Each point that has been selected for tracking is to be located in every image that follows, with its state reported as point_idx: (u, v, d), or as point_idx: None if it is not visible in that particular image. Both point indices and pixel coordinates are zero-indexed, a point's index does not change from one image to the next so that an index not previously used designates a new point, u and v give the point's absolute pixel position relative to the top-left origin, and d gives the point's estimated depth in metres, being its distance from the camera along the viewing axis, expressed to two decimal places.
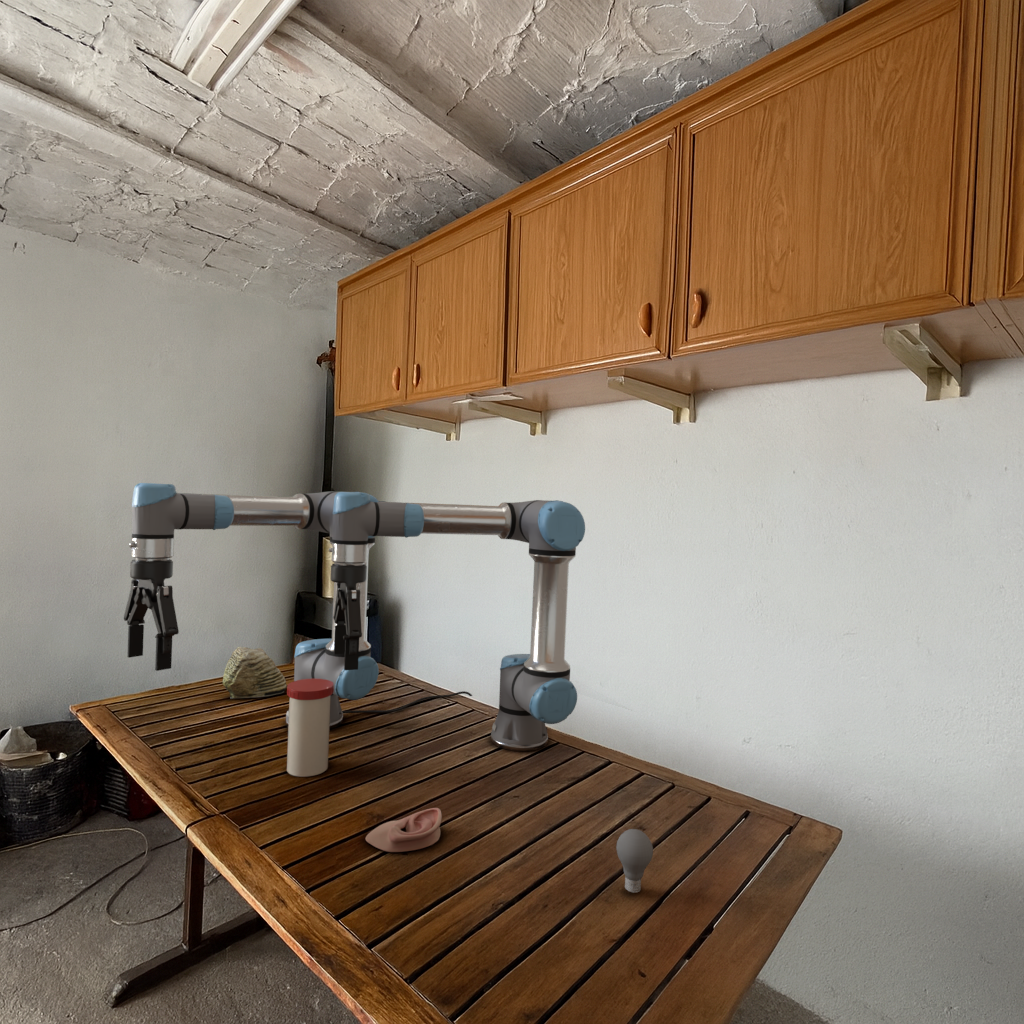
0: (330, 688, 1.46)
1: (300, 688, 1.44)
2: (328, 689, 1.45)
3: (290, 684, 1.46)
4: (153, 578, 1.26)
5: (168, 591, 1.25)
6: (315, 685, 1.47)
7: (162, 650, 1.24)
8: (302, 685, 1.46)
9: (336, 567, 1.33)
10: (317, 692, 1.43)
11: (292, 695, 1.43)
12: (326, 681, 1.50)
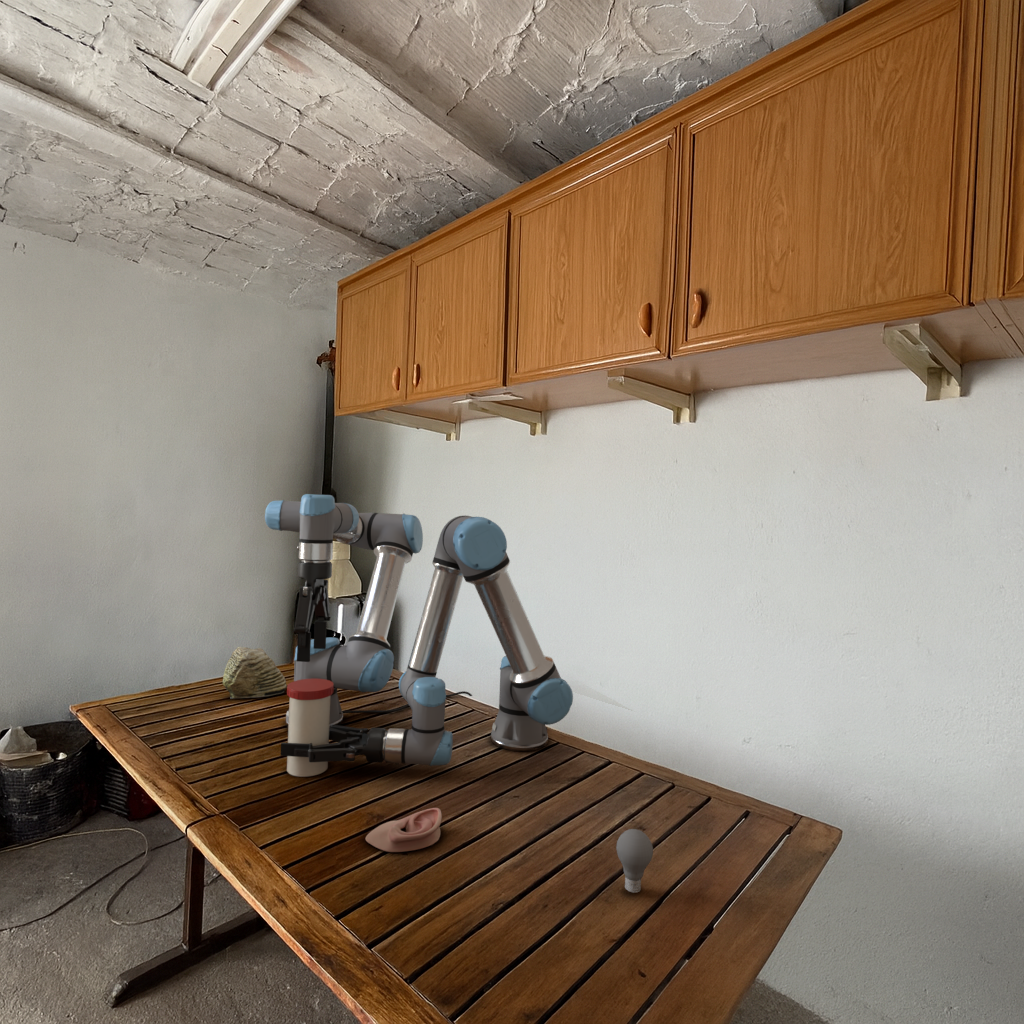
0: (330, 688, 1.46)
1: (300, 688, 1.44)
2: (328, 689, 1.45)
3: (290, 684, 1.46)
4: (305, 577, 1.43)
5: (307, 592, 1.40)
6: (315, 685, 1.47)
7: None
8: (302, 685, 1.46)
9: None
10: (317, 692, 1.43)
11: (292, 695, 1.43)
12: (326, 681, 1.50)
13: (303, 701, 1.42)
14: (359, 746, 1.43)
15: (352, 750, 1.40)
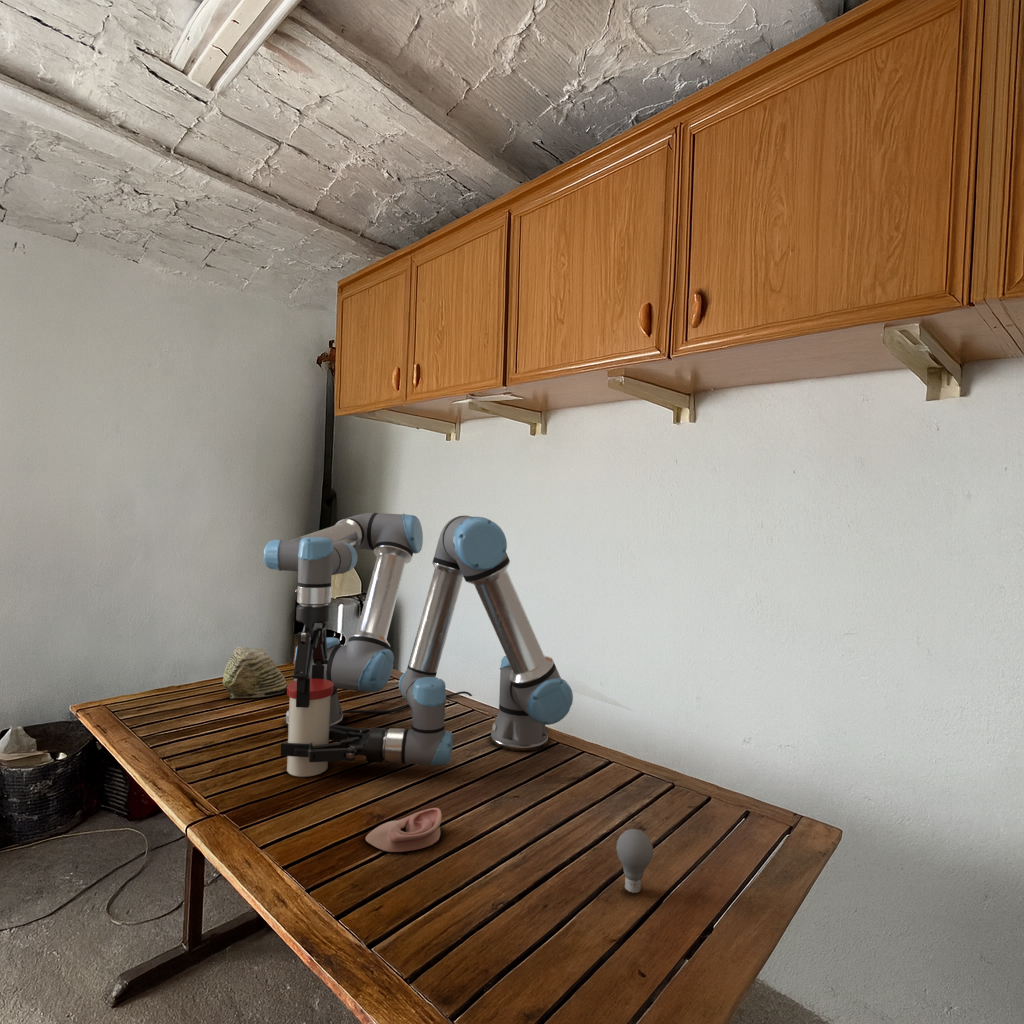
0: (330, 688, 1.46)
1: None
2: (328, 689, 1.45)
3: (290, 684, 1.46)
4: (303, 622, 1.43)
5: (305, 638, 1.40)
6: (315, 685, 1.47)
7: None
8: None
9: None
10: (317, 692, 1.43)
11: (292, 695, 1.43)
12: (326, 681, 1.50)
13: None
14: (359, 746, 1.43)
15: (352, 750, 1.40)
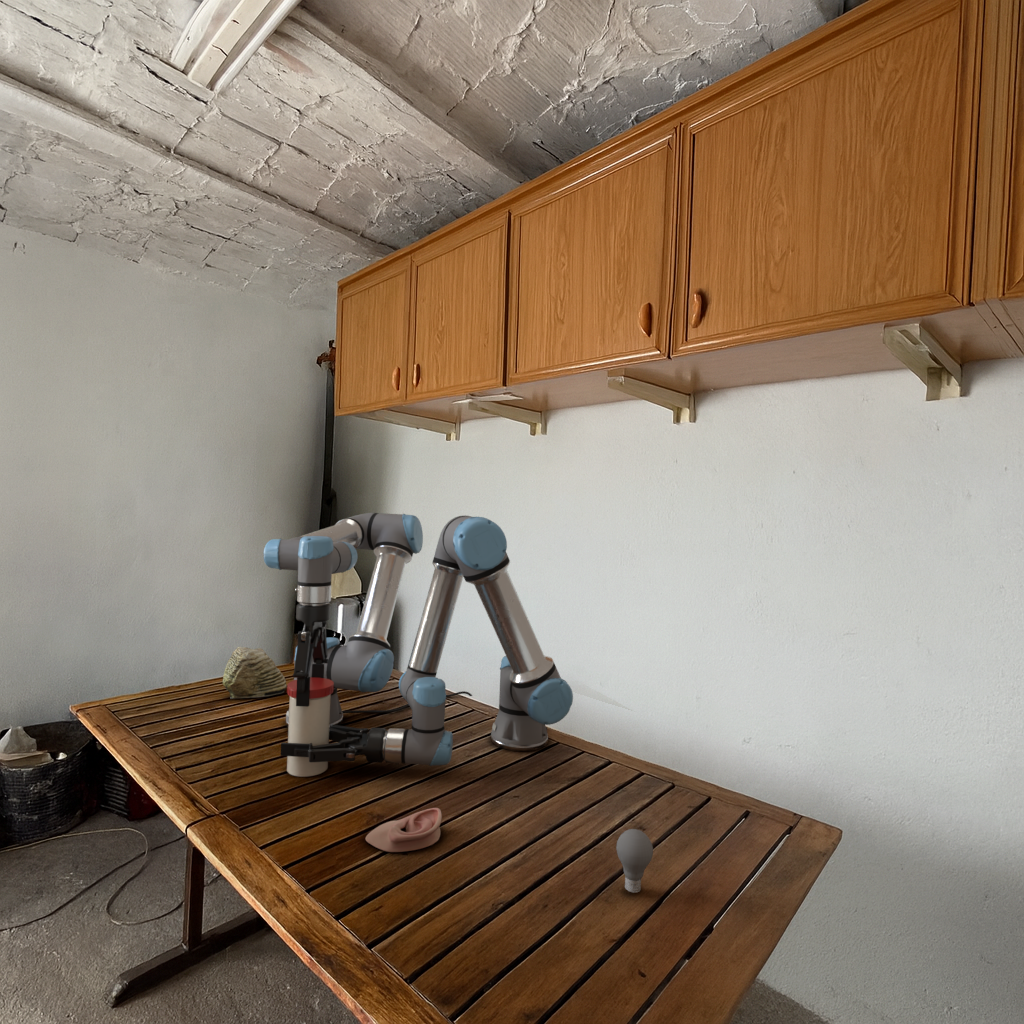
0: None
1: (318, 686, 1.45)
2: None
3: None
4: (303, 621, 1.43)
5: (305, 637, 1.40)
6: (315, 682, 1.48)
7: None
8: (311, 686, 1.45)
9: None
10: (333, 684, 1.48)
11: (319, 694, 1.43)
12: None
13: None
14: (359, 746, 1.43)
15: (352, 750, 1.40)
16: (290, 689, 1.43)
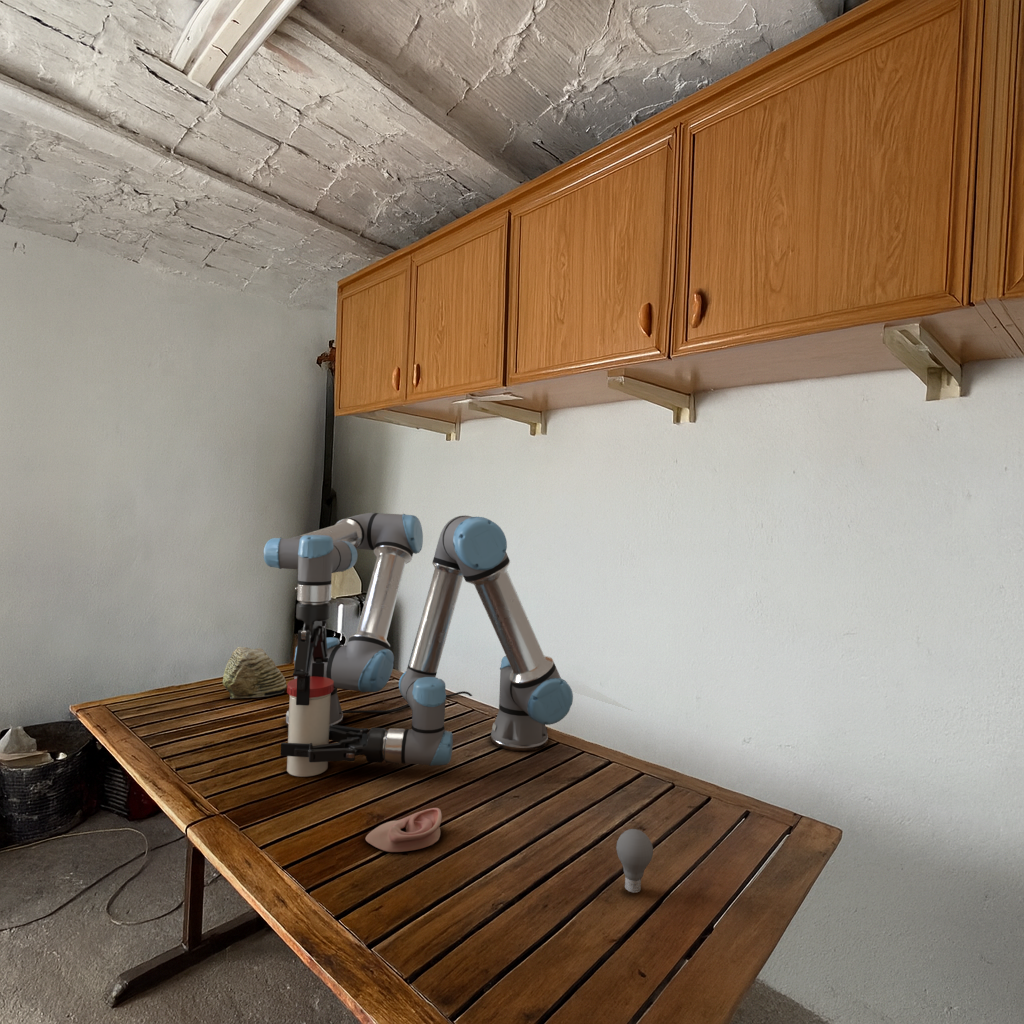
0: None
1: (325, 681, 1.49)
2: None
3: (324, 686, 1.45)
4: (303, 619, 1.43)
5: (305, 636, 1.40)
6: None
7: None
8: (319, 682, 1.47)
9: None
10: None
11: (333, 686, 1.49)
12: (292, 682, 1.46)
13: None
14: (359, 746, 1.43)
15: (352, 750, 1.40)
16: (315, 690, 1.43)
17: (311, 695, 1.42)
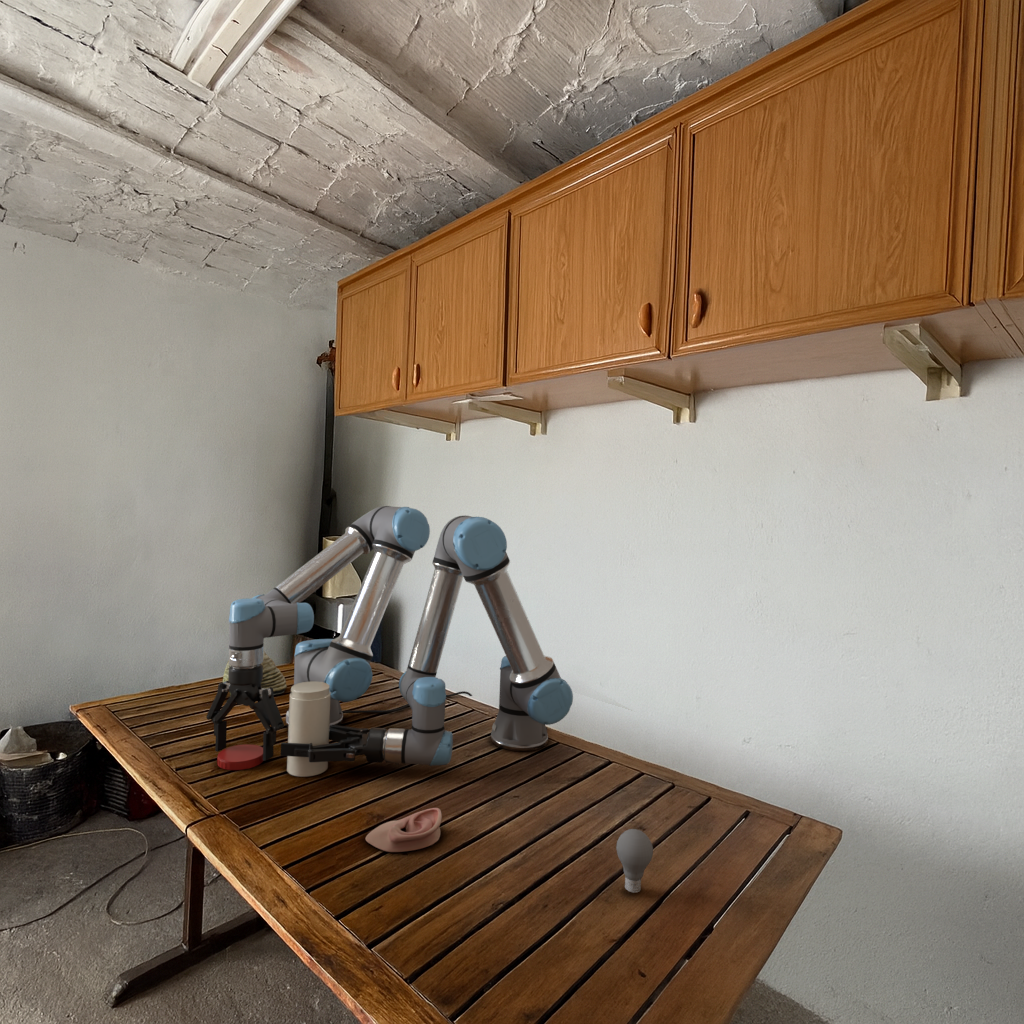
0: None
1: (244, 747, 1.53)
2: (218, 755, 1.48)
3: (261, 748, 1.53)
4: (255, 682, 1.47)
5: (271, 692, 1.48)
6: (235, 753, 1.49)
7: (270, 743, 1.47)
8: (247, 749, 1.51)
9: None
10: None
11: None
12: (231, 759, 1.45)
13: (303, 701, 1.42)
14: (359, 746, 1.43)
15: (352, 750, 1.40)
16: None
17: None
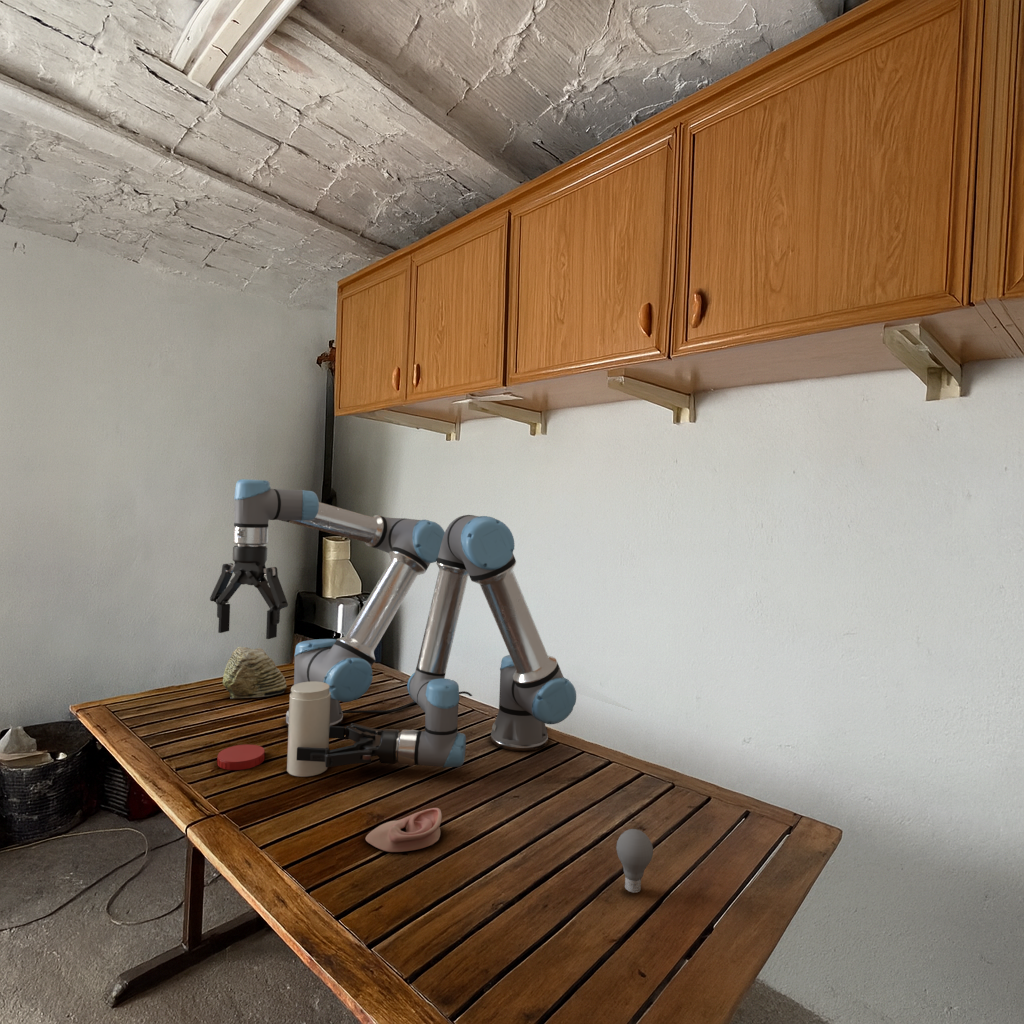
0: None
1: (244, 747, 1.53)
2: (218, 755, 1.48)
3: (261, 748, 1.53)
4: (259, 561, 1.47)
5: (275, 571, 1.47)
6: (235, 753, 1.49)
7: (273, 621, 1.46)
8: (247, 749, 1.51)
9: None
10: None
11: None
12: (231, 759, 1.45)
13: (303, 701, 1.42)
14: (373, 747, 1.43)
15: (369, 751, 1.40)
16: (264, 753, 1.51)
17: (263, 759, 1.50)
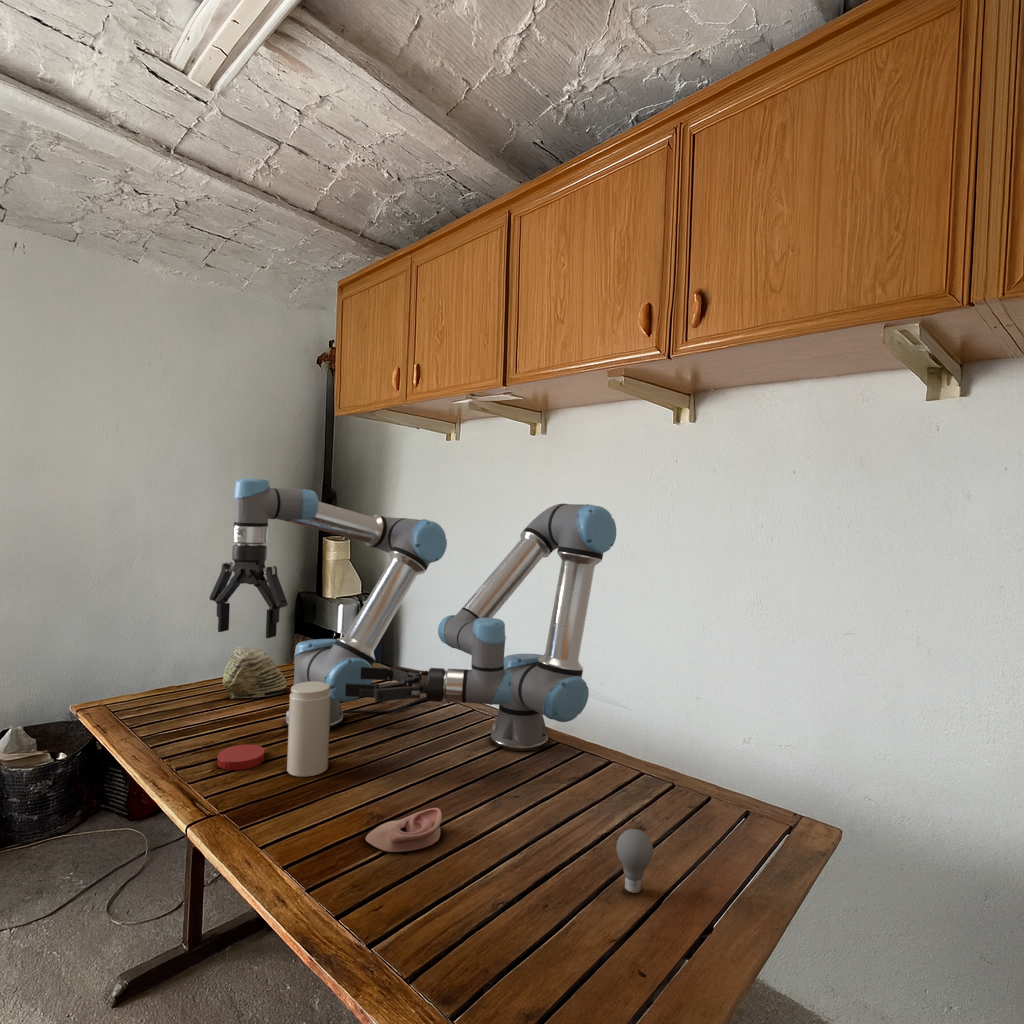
0: None
1: (244, 747, 1.53)
2: (218, 755, 1.48)
3: (261, 748, 1.53)
4: (259, 560, 1.47)
5: (274, 570, 1.47)
6: (235, 753, 1.49)
7: (273, 620, 1.46)
8: (247, 749, 1.51)
9: None
10: None
11: None
12: (231, 759, 1.45)
13: (303, 701, 1.42)
14: (421, 684, 1.43)
15: (418, 687, 1.40)
16: (264, 753, 1.51)
17: (263, 759, 1.50)
